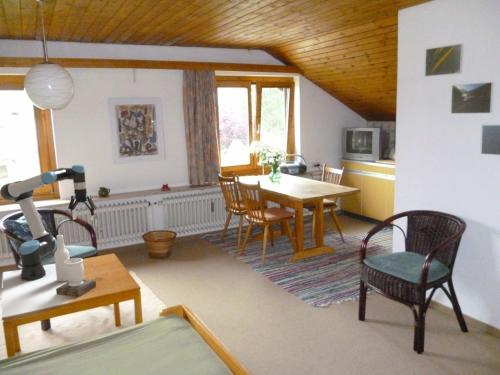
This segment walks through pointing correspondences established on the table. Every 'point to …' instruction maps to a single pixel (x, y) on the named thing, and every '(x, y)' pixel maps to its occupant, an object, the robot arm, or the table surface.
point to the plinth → (76, 289)
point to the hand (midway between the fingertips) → (83, 219)
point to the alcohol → (61, 259)
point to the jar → (74, 271)
